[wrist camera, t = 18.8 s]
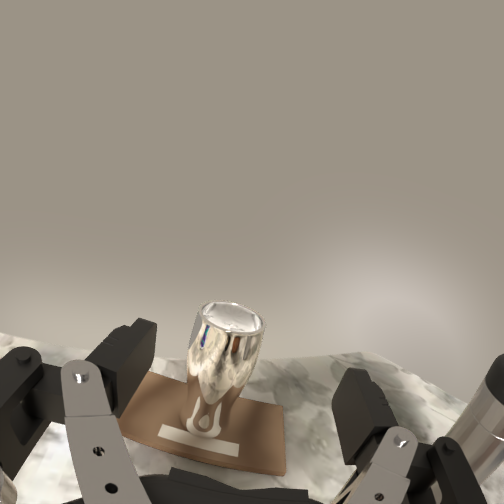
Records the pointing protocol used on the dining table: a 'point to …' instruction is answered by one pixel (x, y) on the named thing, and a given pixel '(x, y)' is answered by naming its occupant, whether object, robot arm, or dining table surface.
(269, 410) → the board
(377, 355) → the dining table surface
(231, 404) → the beer glass
